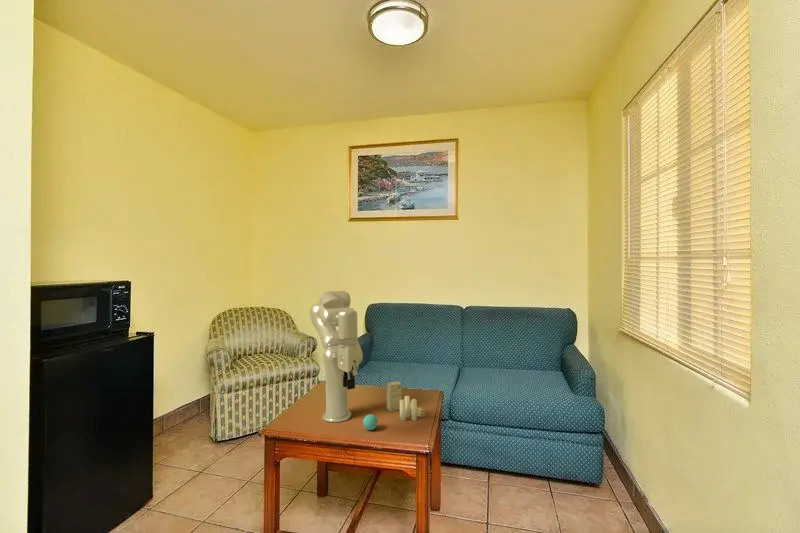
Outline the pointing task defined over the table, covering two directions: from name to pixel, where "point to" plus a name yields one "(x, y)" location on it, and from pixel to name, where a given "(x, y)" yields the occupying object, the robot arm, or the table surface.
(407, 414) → the pin
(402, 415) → the pin front
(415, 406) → the pin
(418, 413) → the back rail
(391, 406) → the skincare box
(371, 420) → the ball
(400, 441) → the table surface
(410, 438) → the table surface
